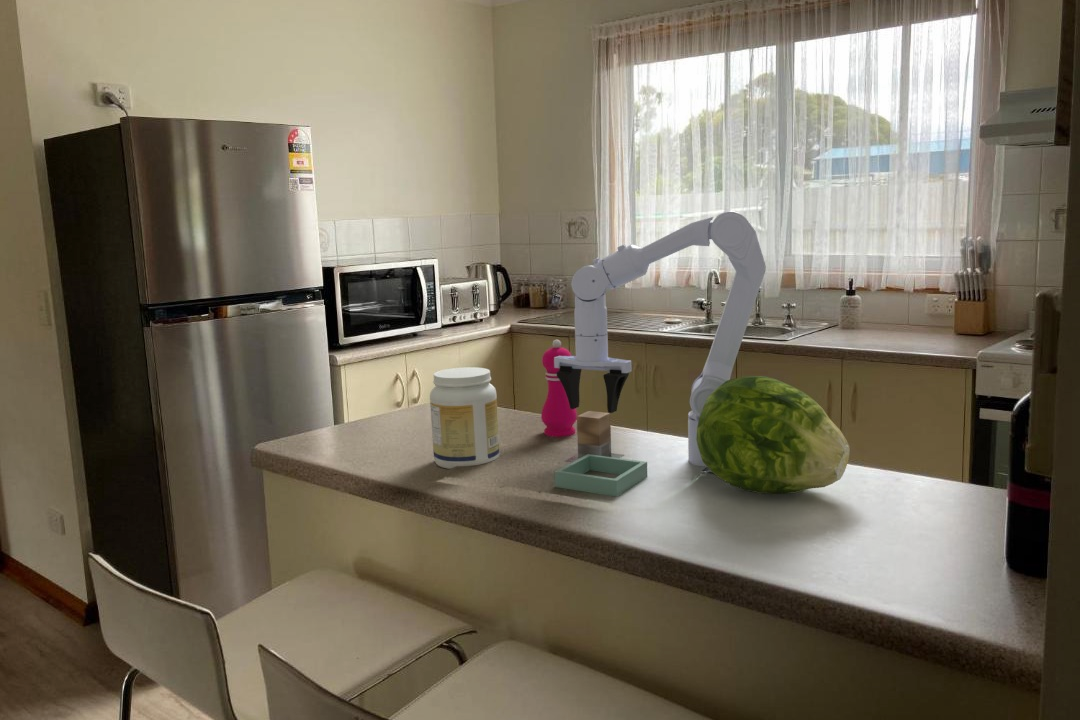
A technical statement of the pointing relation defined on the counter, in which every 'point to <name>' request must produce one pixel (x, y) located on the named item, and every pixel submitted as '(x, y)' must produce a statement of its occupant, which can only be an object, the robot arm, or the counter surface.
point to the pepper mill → (556, 397)
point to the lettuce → (769, 437)
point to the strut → (594, 434)
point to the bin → (577, 480)
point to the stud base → (577, 457)
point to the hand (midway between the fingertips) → (593, 409)
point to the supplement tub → (464, 417)
